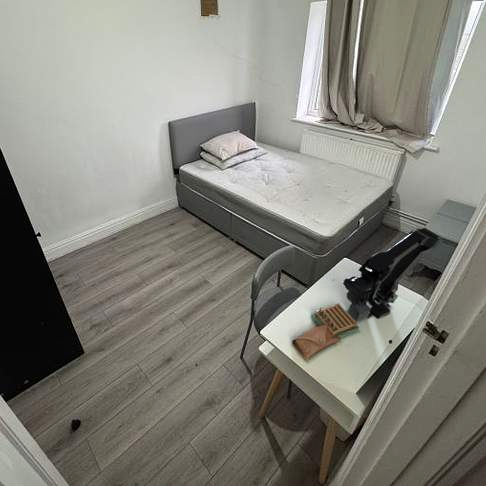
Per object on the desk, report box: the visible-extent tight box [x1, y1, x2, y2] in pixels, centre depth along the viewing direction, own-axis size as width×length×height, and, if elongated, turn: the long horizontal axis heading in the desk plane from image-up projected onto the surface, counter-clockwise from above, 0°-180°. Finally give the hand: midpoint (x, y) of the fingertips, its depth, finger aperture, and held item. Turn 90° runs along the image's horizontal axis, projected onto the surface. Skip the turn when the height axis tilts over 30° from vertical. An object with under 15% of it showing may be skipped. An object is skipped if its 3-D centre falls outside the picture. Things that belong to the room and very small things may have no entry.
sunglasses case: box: [291, 321, 342, 361], centre depth 110 cm, size 18×7×7 cm, turn 118°
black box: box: [347, 303, 371, 322], centre depth 119 cm, size 6×5×6 cm
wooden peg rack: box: [311, 302, 360, 339], centre depth 115 cm, size 13×12×8 cm
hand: (359, 309), depth 118 cm, fingers open, 9 cm apart
